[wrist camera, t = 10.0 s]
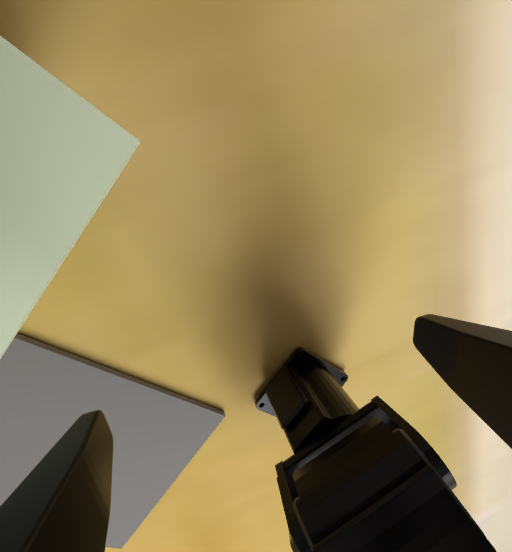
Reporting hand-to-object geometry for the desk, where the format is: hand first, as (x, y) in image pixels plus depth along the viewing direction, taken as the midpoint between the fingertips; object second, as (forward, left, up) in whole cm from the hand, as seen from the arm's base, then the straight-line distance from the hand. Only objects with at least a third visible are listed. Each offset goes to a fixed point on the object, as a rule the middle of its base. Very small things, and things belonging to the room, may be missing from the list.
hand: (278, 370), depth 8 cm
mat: (-1, +19, -13) cm, 23 cm away
